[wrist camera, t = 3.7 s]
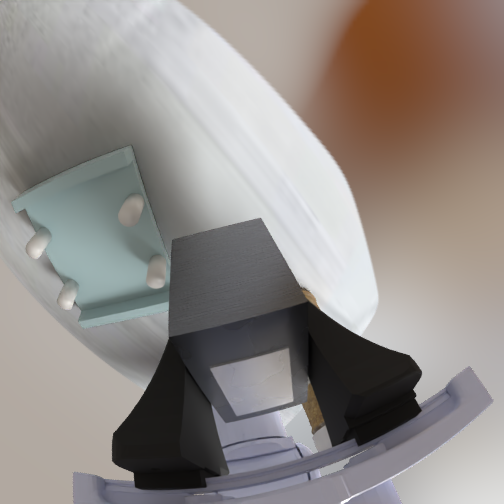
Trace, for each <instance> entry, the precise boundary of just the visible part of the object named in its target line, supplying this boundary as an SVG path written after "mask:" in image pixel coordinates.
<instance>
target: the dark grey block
mask: <svg viewBox="0 0 504 504" xmlns="http://www.w3.org/2000/svg"><path fill="white" fill-rule="evenodd" d="M169 339H170V340H171V342H172V344H173V346H174V347H175V349H176V351H177V352H178V354H179V355H180V357H181V359H182V360H183V362H184V364H185V365H186V367H187V368H188V370H189V371H190V373H191V375H192V376H193V378H194V379H195V381H196V382H197V384H198V385H199V387H200V388H201V390H202V391H203V393H204V394H205V395H206V397H207V398H208V400H209V401H210V403H211V404H212V405H213V407H214V408H215V410H216V411H217V412H218V414H219V415H220V416H221V418H222V419H223V420H224V422H225V423H230V422H235V421H239V420H244V419H248V418H252V417H256V416H260V415H264V414H268V413H272V412H275V411H279V410H283V409H286V408H289V407H293V406H296V405H299V404H302V403H305V402H307V396H308V300H307V299H306V297H305V295H304V293H303V291H302V290H301V288H300V286H299V284H298V282H297V281H296V279H295V277H294V275H293V273H292V272H291V270H290V268H289V266H288V265H287V263H286V261H285V259H284V257H283V256H282V254H281V252H280V250H279V249H278V247H277V245H276V243H275V242H274V240H273V238H272V236H271V235H270V233H269V231H268V229H267V228H266V226H265V224H264V222H263V221H262V219H261V218H258V219H254V220H250V221H245V222H241V223H237V224H233V225H229V226H225V227H221V228H217V229H213V230H209V231H205V232H201V233H197V234H193V235H189V236H186V237H182V238H178V239H174V240H172V250H171V266H170V287H169Z"/></svg>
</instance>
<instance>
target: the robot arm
mask: <svg viewBox="0 0 504 504" xmlns="http://www.w3.org/2000/svg"><path fill="white" fill-rule="evenodd" d="M306 299H307V298H306ZM307 300H308V299H307ZM421 375H422V371H421V370H420V368H419V366H418V365H417V364H416V362H415V361H414V360H413V359H412V358H411V357H410V355H406V354H403V353H399V352H396V351H393V350H390V349H387V348H385V347H382V346H380V345H377V344H375V343H373V342H371V341H369V340H366V339H364V338H362V337H360V336H359V335H357V334H355V333H353V332H351V331H350V330H348V329H346V328H345V327H343V326H342V325H340V324H339V323H337V322H336V321H334V320H333V319H331V318H330V317H329V316H327V315H326V314H325V313H323V312H322V311H321V310H320V309H319V308H317V307H316V306H315V305H314V304H313V303H311V302H310V301H309V300H308V377H309V380H310V383H311V385H312V388H313V391H314V394H315V396H316V399H317V402H318V405H319V407H320V410H321V413H322V416H323V419H324V422H325V425H326V428H327V432H328V435H329V438H330V441H331V444H332V448H329V449H326V450H324V451H321V452H318V453H315V454H313V453H312V452H311V450H310V449H309V448H308V447H307V446H305V445H303V444H302V443H300V442H297V443H294V440H293V437H292V436H290V437H288V436H287V433H286V430H285V427H284V424H283V421H282V418H281V415H280V412H279V411H275V412H272V413H268V414H264V415H260V416H256V417H252V418H248V419H244V420H239V421H235V422H230V423H225V422H224V420H223V419H222V418H221V416H220V415H219V414H218V412H217V411H216V410H215V408H214V407H213V405H212V404H211V403H210V401H209V400H208V398H207V397H206V395H205V394H204V393H203V391H202V390H201V388H200V387H199V385H198V384H197V382H196V381H195V379H194V378H193V376H192V375H191V373H190V371H189V370H188V368H187V367H186V365H185V364H184V362H183V360H182V359H181V357H180V355H179V354H178V352H177V351H176V349H175V347H174V346H173V344H172V342H171V340H170V339H169V340H168V342H167V345H166V348H165V351H164V353H163V356H162V358H161V360H160V363H159V365H158V367H157V370H156V372H155V374H154V376H153V378H152V380H151V382H150V383H149V385H148V387H147V389H146V390H145V392H144V394H143V396H142V397H141V399H140V400H139V402H138V403H137V405H136V406H135V407H134V409H133V410H132V412H131V413H130V414H129V416H128V417H127V418H126V419H125V421H124V422H123V423H122V424H121V425H120V426H119V428H118V429H117V430H116V431H115V432H114V433H113V440H112V461H113V462H114V463H115V464H116V465H117V466H119V467H121V468H123V469H126V470H128V471H131V472H133V473H134V481H122V480H109V479H103V478H102V477H99V476H96V475H92V474H86V473H78V472H74V473H73V499H74V501H73V502H74V504H402V502H401V500H400V498H399V496H398V493H397V491H396V489H395V487H394V485H393V482H392V480H391V479H392V478H393V477H395V476H397V475H399V474H400V473H402V472H404V471H406V470H407V469H409V468H411V467H412V466H414V465H415V464H417V463H418V462H420V461H421V460H423V459H425V458H426V457H427V456H429V455H430V454H432V453H433V452H435V451H436V450H438V449H439V448H440V447H441V446H443V445H444V444H446V443H447V442H448V441H450V440H451V439H452V438H453V437H454V436H456V435H457V434H458V433H460V432H461V431H462V430H463V429H464V428H466V427H467V426H468V425H469V424H470V423H471V422H473V421H474V420H475V419H476V418H477V417H478V416H479V415H480V414H481V413H482V412H484V410H486V409H487V408H488V407H489V406H490V405H491V404H492V403H493V399H492V397H491V396H490V394H489V393H488V391H487V390H486V388H485V387H484V386H483V384H482V383H481V381H480V380H479V378H478V377H477V375H476V374H475V373H474V371H473V370H472V368H471V367H470V366H468V367H467V368H465V369H464V370H463V371H462V372H460V373H459V374H458V375H456V376H455V377H454V378H453V379H452V380H451V381H450V382H449V383H448V384H447V385H446V387H445V388H444V389H442V390H441V391H440V392H438V393H437V394H435V395H434V396H432V397H430V398H429V399H427V400H426V401H424V402H423V403H421V404H419V405H418V403H417V401H416V400H415V397H416V393H415V392H414V390H413V389H414V387H415V386H416V384H417V382H418V381H419V380H420V378H421ZM367 449H368V450H367ZM364 450H366V451H364ZM362 451H364V452H362ZM360 452H362V453H360ZM358 453H360V454H358ZM355 454H358V455H356V456H355V457H353V458H351V459H350V460H349V463H348V464H346V465H345V466H344V469H342V470H340V471H337V472H334V473H331V474H328V475H325V476H322V477H321V474H320V470H319V469H320V468H322V467H325V466H328V465H331V464H333V463H336V462H339V461H341V460H343V459H346V458H348V457H351V456H353V455H355ZM193 494H204V495H193Z"/></svg>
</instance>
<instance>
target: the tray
mask: <svg viewBox="0 0 504 504" xmlns="http://www.w3.org/2000/svg"><path fill="white" fill-rule="evenodd" d="M11 203H12V206H13V208H14V211H15V213H18V212H20V211H21V210H23V209H26V211H27V214H28V216H29V218H30V221H31V223H32V225H33V227H34V229H35V231H36V233H35V235H34V236H33V237H32V238H31V240H30V241H29V242H28V243H27V245H26V252H27V254H28V255H29V256H30V257H31V258H33V259H37V258H39V257H40V255H41V254H42V252H43V251H44V249H45V251H46V253H47V255H48V257H49V259H50V261H51V263H52V264H53V266H54V268H55V270H56V271H57V273H58V275H59V277H60V278H61V280H62V282H63V283H64V286H63V288H62V290H61V293H60V295H59V297H58V299H57V303H58V305H59V306H60V307H61V308H62V309H64V310H70V309H71V308H72V306H73V303H74V301H75V302H76V304H77V305H78V307H79V308H80V310H81V314H80V317H79V320H78V322H79V324H80V325H81V327H82V328H83V329H85V328H90V327H95V326H100V325H105V324H110V323H115V322H120V321H125V320H129V319H134V318H139V317H143V316H148V315H152V314H157V313H161V312H166V311H169V287H170V266H171V262H170V259H169V257H168V254H167V252H166V249H165V246H164V244H163V241H162V238H161V235H160V233H159V230H158V227H157V224H156V221H155V218H154V216H153V213H152V210H151V207H150V204H149V201H148V198H147V195H146V192H145V188H144V185H143V182H142V179H141V176H140V172H139V169H138V166H137V162H136V159H135V155H134V152H133V148H132V145H130V146H127V147H124V148H121V149H118V150H116V151H113V152H110V153H107V154H105V155H102V156H100V157H97V158H95V159H92V160H90V161H87V162H85V163H82V164H80V165H78V166H75V167H73V168H71V169H69V170H66V171H64V172H62V173H60V174H58V175H56V176H54V177H52V178H49V179H47V180H45V181H43V182H41V183H39V184H38V185H36V186H34V187H32V188H30V189H28V190H26V191H25V192H23V193H22V194H21V195H20V196H18V197H17V198H16V199H15V200H13V201H12V202H11Z"/></svg>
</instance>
